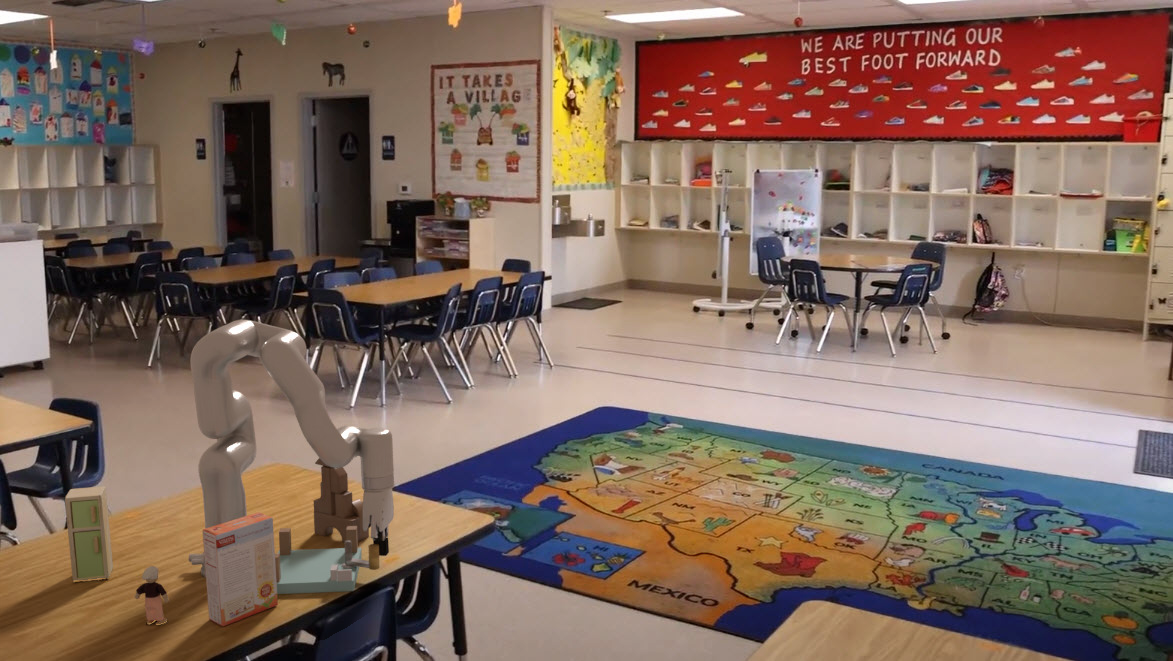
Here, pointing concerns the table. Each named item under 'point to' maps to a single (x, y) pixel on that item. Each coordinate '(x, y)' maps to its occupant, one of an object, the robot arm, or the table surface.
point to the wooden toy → (337, 505)
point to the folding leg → (370, 564)
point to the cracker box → (240, 568)
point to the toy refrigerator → (89, 533)
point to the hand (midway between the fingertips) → (381, 554)
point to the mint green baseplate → (315, 566)
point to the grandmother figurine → (152, 595)
